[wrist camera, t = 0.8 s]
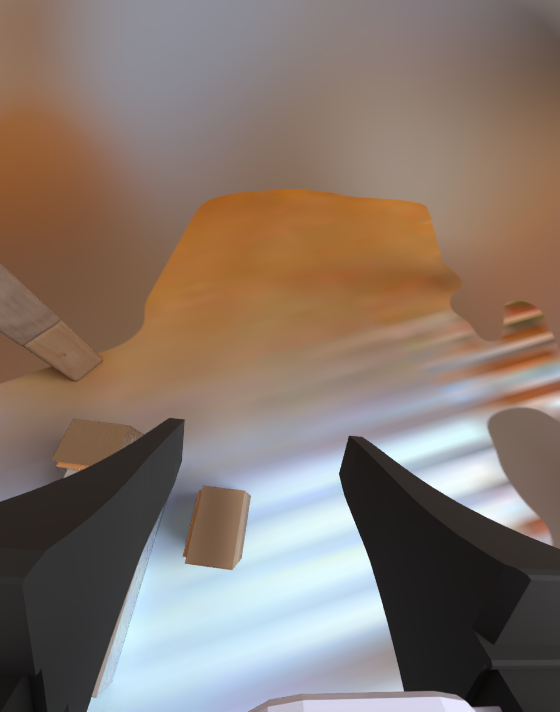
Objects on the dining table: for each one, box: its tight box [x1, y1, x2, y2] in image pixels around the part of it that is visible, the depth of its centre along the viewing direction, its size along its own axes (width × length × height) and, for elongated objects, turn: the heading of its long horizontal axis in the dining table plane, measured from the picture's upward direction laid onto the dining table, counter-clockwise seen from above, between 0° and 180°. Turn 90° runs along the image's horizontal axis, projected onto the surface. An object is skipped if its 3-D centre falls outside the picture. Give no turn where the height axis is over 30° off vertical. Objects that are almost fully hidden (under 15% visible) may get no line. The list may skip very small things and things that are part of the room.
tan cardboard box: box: [183, 486, 251, 570], centre depth 20 cm, size 3×4×6 cm
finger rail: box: [51, 419, 164, 698], centre depth 19 cm, size 15×8×6 cm, turn 174°
